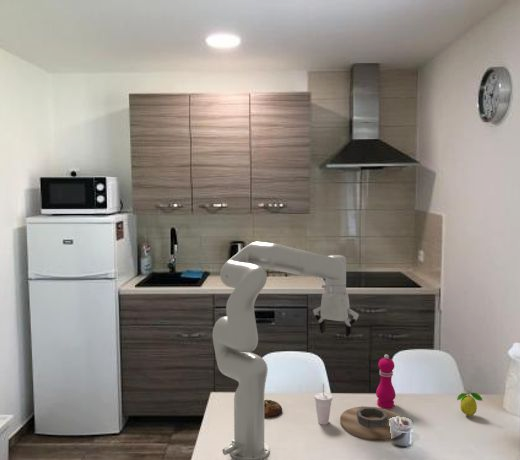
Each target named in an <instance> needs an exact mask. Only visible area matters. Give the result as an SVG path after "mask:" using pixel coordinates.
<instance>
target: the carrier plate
mask: <svg viewBox="0 0 520 460" xmlns="http://www.w3.org/2000/svg"><path fill="white" fill-rule="evenodd" d="M396 416H399V415H398V414H397V413H395V412H394V411H391V410H389V409H385V408H381V407H375V406H356V407H352V408H349V409H346V410H344V411H343V412H342V413H341V414H340V419H339V421H340V422H339V423H340V426H341V428H342V429H343V430H344V431H345V432H346V433H348V434H350V435H352V436H353V437H357V438H360V439H363V440H369V441H389V440H390V441H391V440H392V439H391V433H390V426H389V419H390V418H392V417H396Z"/></svg>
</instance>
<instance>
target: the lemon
mask: <svg viewBox="0 0 520 460" xmlns="http://www.w3.org/2000/svg"><path fill="white" fill-rule="evenodd" d="M470 394H471V395H470ZM456 400H457V401H460V411H461V412H462V414H464V415H466V417H470V416H473V415H475V414H476V412H477V409H478V406H477V401H481V402H482V401H483V398H482V397H481V395H480V394H479V393H477V392H470V391H469V392H468V393H465V392H462V393H460V394H459V395H458V396H457V399H456ZM476 400H477V401H476Z"/></svg>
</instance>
